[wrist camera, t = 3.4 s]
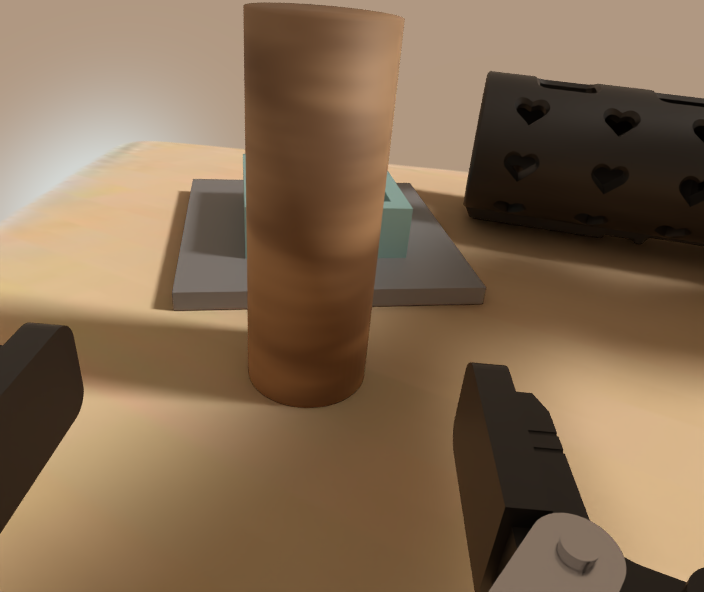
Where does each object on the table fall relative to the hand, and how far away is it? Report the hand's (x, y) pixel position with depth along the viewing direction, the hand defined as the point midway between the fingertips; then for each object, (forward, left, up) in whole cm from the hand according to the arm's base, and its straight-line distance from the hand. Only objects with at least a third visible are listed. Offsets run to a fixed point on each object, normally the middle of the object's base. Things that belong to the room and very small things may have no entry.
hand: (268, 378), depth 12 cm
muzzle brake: (-28, -23, -8) cm, 37 cm away
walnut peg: (-2, -11, -8) cm, 13 cm away
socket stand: (-4, -24, -8) cm, 25 cm away
